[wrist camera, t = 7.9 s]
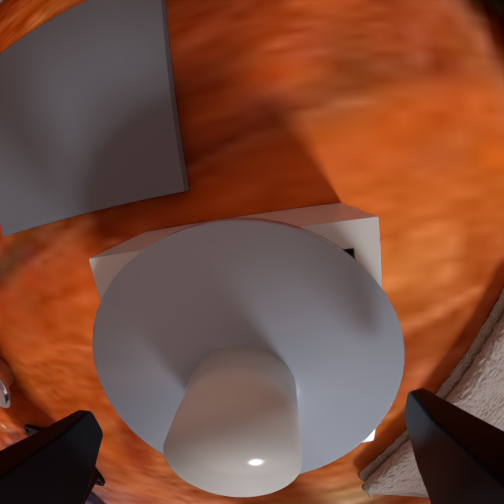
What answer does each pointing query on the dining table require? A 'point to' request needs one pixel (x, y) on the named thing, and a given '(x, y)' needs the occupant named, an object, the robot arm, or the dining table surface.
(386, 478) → the washcloth
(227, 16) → the dining table surface
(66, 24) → the mat
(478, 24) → the dining table surface
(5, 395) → the screw
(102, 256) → the dish
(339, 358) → the lid
